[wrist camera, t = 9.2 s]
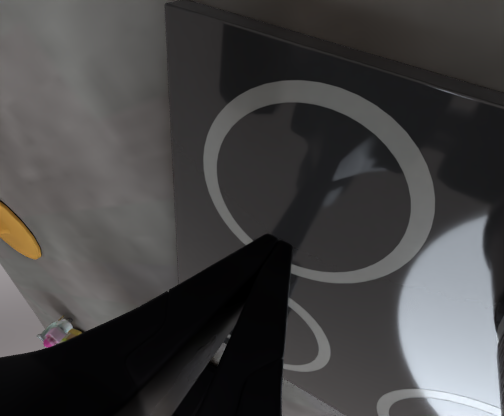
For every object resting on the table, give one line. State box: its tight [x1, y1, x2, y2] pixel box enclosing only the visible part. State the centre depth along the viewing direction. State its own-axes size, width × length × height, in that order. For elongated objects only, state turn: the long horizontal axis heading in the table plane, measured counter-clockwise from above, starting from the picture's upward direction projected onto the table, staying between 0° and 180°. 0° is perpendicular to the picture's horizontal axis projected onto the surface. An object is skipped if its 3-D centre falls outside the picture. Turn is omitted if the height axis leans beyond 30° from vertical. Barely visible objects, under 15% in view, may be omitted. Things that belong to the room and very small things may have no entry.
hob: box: [165, 0, 504, 416], centre depth 13 cm, size 19×22×1 cm
